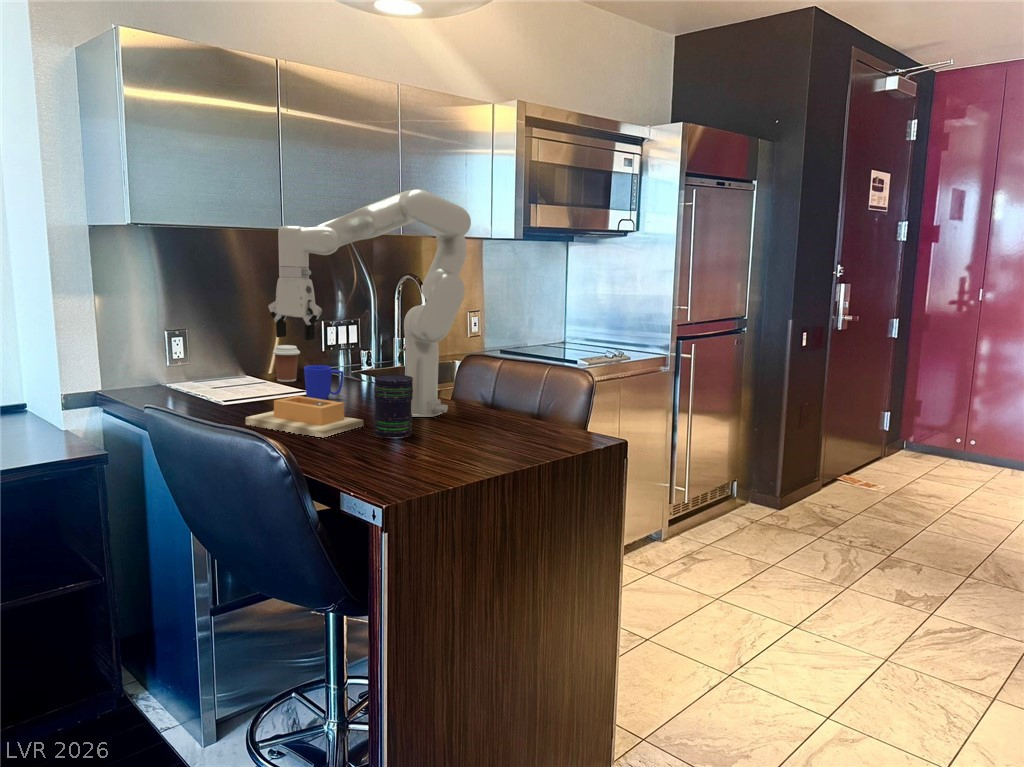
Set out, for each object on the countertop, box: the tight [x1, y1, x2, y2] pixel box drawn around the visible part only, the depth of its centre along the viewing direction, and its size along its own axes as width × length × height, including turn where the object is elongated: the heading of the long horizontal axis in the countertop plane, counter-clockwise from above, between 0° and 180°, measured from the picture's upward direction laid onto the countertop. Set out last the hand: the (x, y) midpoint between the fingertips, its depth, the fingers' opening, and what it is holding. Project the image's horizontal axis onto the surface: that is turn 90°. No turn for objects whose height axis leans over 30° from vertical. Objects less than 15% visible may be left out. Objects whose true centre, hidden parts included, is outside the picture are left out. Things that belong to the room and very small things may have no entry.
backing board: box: [245, 410, 364, 438], centre depth 200 cm, size 26×16×2 cm, turn 63°
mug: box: [303, 364, 344, 400], centre depth 235 cm, size 8×12×10 cm
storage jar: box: [373, 374, 413, 437], centre depth 194 cm, size 10×10×15 cm
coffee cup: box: [272, 344, 301, 383], centre depth 265 cm, size 9×9×12 cm
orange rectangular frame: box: [273, 395, 345, 426], centre depth 200 cm, size 16×9×4 cm, turn 63°
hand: (295, 338), depth 202 cm, fingers open, 9 cm apart
